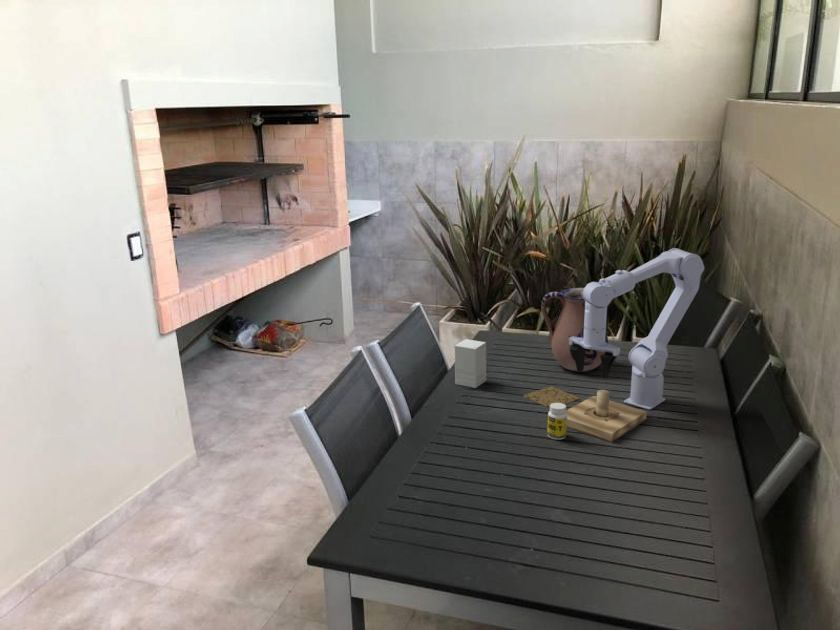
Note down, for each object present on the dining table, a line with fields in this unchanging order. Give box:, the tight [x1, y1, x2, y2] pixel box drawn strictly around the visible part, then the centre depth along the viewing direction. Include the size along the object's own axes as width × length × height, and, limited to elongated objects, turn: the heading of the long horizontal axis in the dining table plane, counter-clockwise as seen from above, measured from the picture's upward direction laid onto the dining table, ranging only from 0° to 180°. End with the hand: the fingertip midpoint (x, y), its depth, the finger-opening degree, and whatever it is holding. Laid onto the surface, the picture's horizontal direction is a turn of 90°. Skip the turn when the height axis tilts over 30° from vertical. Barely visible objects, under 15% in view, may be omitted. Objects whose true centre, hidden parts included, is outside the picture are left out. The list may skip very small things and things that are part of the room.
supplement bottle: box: [546, 403, 568, 441], centre depth 173 cm, size 5×5×8 cm
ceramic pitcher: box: [541, 287, 609, 373], centre depth 218 cm, size 18×21×25 cm
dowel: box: [596, 389, 611, 417], centre depth 181 cm, size 3×3×8 cm
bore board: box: [566, 395, 648, 443], centre depth 181 cm, size 18×16×2 cm
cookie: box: [523, 386, 582, 409], centre depth 198 cm, size 12×12×1 cm
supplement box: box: [454, 338, 487, 389], centre depth 209 cm, size 7×7×13 cm
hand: (592, 374), depth 188 cm, fingers open, 7 cm apart
